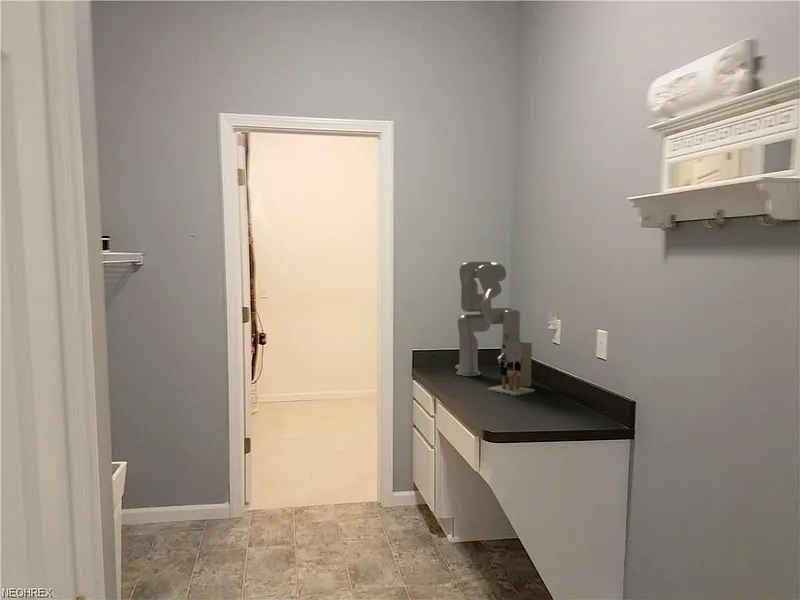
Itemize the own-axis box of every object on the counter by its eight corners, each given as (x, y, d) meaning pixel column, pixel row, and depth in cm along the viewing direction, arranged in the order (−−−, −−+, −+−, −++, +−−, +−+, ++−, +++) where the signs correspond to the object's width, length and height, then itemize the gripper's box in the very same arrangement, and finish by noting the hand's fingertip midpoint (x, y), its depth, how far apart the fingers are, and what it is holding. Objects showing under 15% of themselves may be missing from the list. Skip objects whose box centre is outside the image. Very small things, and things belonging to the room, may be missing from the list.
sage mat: (487, 390, 269) (487, 388, 269) (507, 385, 278) (507, 383, 278) (514, 396, 257) (514, 393, 257) (534, 391, 266) (534, 389, 266)
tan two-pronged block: (511, 390, 263) (512, 373, 263) (501, 388, 268) (501, 371, 267) (520, 388, 267) (520, 371, 266) (510, 386, 272) (510, 369, 271)
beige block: (529, 383, 283) (529, 340, 282) (531, 386, 276) (531, 342, 274) (512, 383, 284) (513, 340, 282) (514, 386, 277) (514, 342, 275)
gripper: (505, 339, 257) (504, 377, 259) (529, 336, 268) (529, 372, 270) (492, 337, 263) (491, 375, 264) (516, 334, 274) (516, 370, 275)
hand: (510, 373), depth 267 cm, fingers open, 9 cm apart
